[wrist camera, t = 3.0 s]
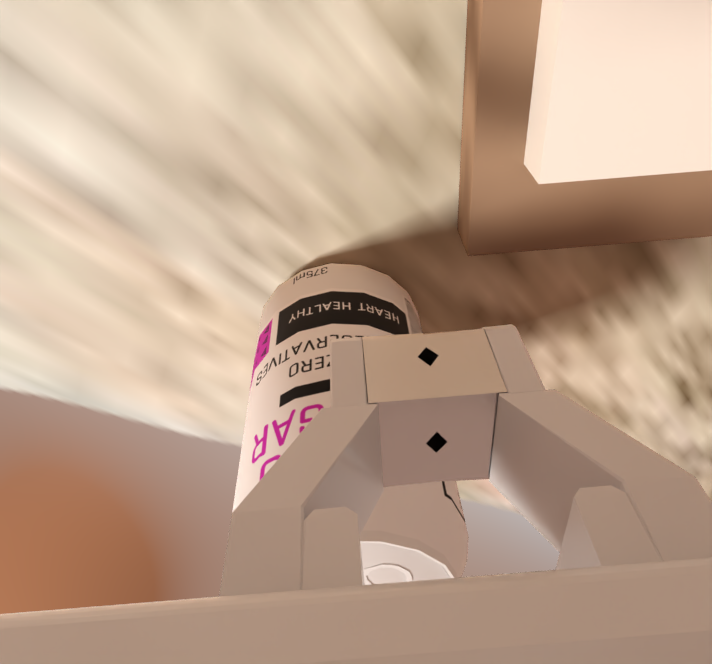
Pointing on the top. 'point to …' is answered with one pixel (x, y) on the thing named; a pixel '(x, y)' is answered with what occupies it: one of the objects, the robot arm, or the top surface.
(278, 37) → the top surface
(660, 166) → the cream rectangular block
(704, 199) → the brown square tile
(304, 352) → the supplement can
